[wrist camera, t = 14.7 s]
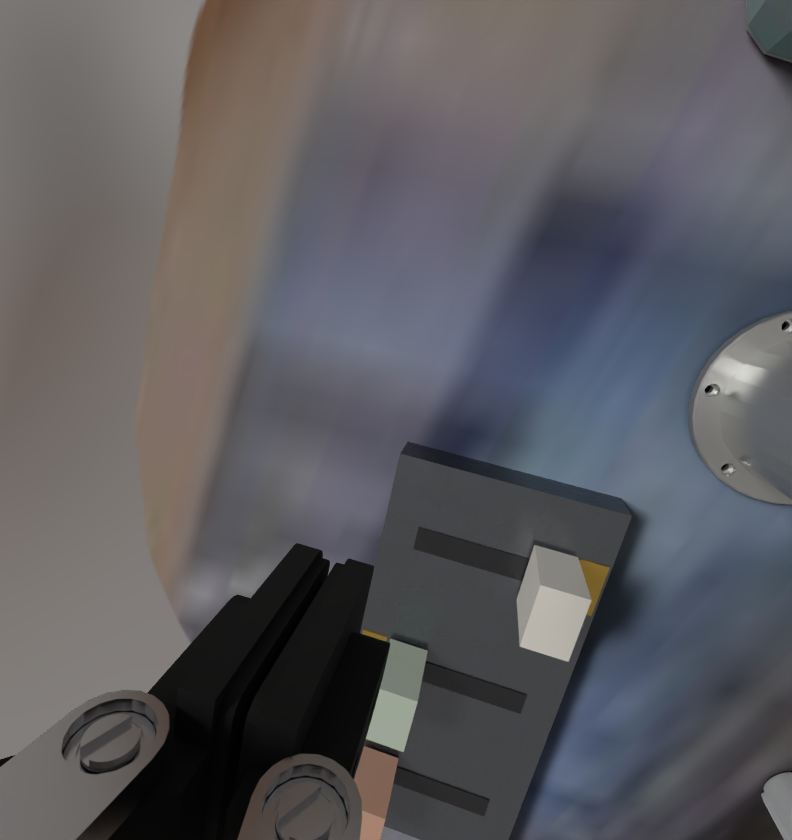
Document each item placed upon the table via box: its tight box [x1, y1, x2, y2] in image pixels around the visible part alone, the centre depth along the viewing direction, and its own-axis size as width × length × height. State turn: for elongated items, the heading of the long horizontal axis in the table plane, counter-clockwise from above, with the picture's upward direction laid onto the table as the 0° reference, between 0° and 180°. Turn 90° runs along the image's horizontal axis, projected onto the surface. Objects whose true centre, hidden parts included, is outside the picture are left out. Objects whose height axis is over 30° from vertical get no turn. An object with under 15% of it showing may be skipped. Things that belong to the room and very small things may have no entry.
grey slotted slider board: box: [354, 442, 632, 840], centre depth 40 cm, size 16×34×3 cm, turn 168°
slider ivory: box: [517, 545, 592, 662], centre depth 32 cm, size 3×4×5 cm, turn 168°
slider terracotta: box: [354, 746, 399, 840], centre depth 39 cm, size 3×4×5 cm, turn 168°
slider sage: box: [366, 639, 428, 752], centre depth 36 cm, size 3×4×5 cm, turn 168°
